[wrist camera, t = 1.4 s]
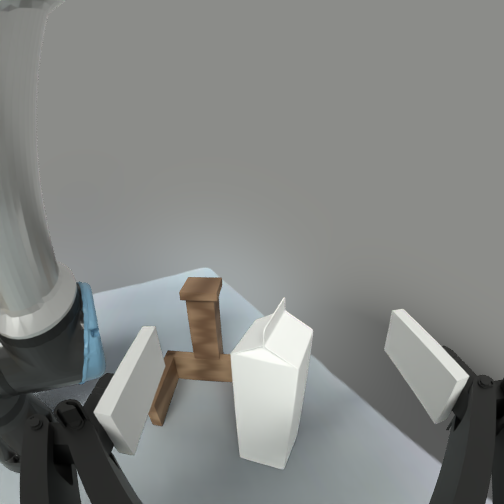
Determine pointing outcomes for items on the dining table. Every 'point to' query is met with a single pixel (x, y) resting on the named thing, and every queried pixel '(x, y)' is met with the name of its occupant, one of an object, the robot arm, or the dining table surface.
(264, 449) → the milk
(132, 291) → the dining table surface
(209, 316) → the post bracket
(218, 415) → the dining table surface
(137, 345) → the robot arm
